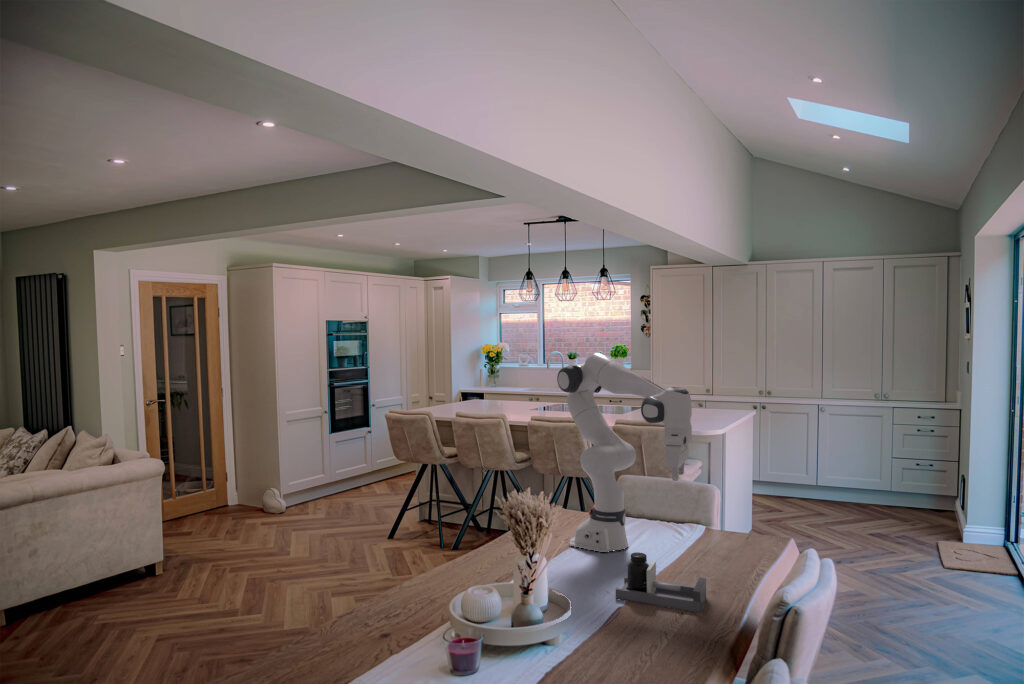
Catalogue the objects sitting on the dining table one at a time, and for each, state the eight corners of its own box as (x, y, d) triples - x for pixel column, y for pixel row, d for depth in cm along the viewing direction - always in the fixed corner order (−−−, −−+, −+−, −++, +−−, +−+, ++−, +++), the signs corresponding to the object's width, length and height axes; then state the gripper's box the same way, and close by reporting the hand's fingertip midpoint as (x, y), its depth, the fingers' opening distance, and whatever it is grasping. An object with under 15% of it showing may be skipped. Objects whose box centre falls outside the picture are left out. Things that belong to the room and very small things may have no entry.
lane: (615, 599, 194) (615, 579, 194) (625, 585, 204) (625, 567, 204) (700, 612, 184) (700, 592, 184) (706, 598, 194) (705, 578, 194)
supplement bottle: (650, 598, 193) (649, 559, 193) (627, 597, 194) (626, 557, 194) (650, 590, 199) (649, 551, 199) (628, 588, 201) (627, 550, 201)
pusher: (647, 599, 192) (646, 569, 192) (652, 589, 199) (652, 560, 199) (677, 604, 188) (677, 574, 188) (682, 594, 195) (682, 564, 195)
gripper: (674, 431, 224) (674, 470, 225) (662, 440, 206) (662, 482, 206) (693, 432, 222) (693, 471, 222) (682, 441, 203) (682, 484, 203)
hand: (678, 477), depth 214 cm, fingers open, 8 cm apart
